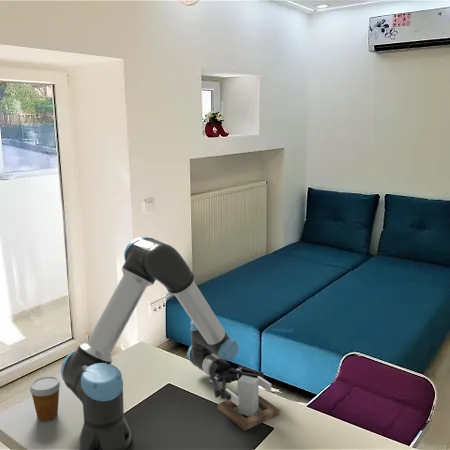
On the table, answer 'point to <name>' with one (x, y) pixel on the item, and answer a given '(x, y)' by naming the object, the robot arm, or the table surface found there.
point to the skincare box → (248, 395)
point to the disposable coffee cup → (46, 397)
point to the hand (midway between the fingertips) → (254, 394)
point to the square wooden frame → (254, 420)
